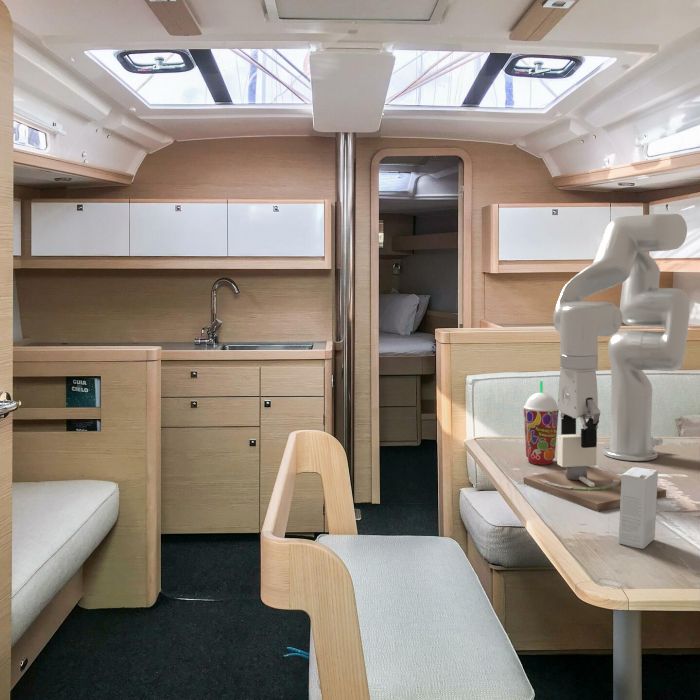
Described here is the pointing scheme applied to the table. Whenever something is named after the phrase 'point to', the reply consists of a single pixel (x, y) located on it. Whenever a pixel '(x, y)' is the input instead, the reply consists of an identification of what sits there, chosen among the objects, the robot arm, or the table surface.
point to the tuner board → (584, 488)
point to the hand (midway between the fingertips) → (578, 441)
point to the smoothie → (540, 427)
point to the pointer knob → (575, 457)
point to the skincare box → (638, 507)
